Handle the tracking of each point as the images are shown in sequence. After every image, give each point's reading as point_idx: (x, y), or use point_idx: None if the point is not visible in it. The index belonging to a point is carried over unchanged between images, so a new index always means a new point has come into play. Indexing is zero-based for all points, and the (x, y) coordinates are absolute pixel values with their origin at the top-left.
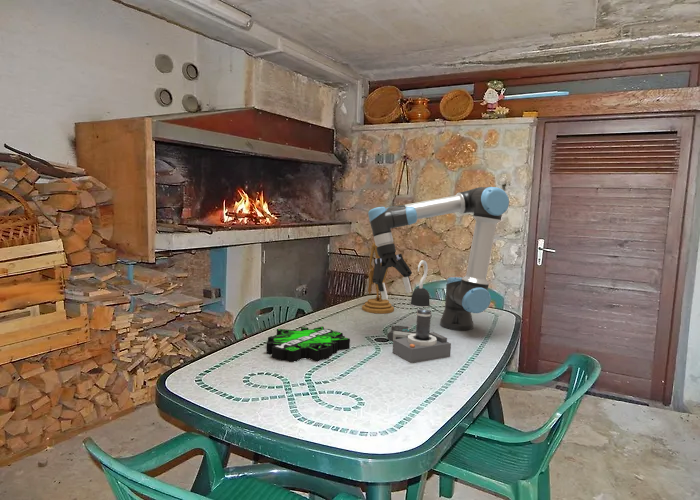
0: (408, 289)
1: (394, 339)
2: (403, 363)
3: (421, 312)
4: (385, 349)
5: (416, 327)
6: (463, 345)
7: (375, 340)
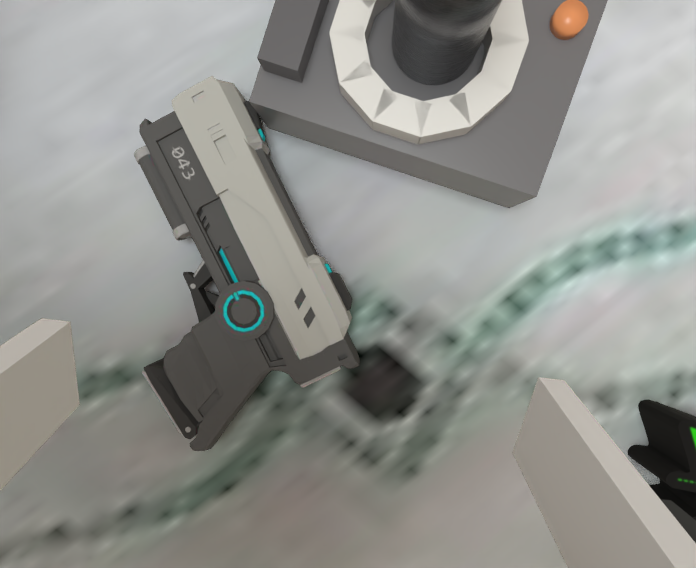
0: (42, 376)
1: (528, 191)
2: (605, 63)
3: None
4: (498, 263)
5: (492, 14)
6: (102, 18)
7: (416, 398)
